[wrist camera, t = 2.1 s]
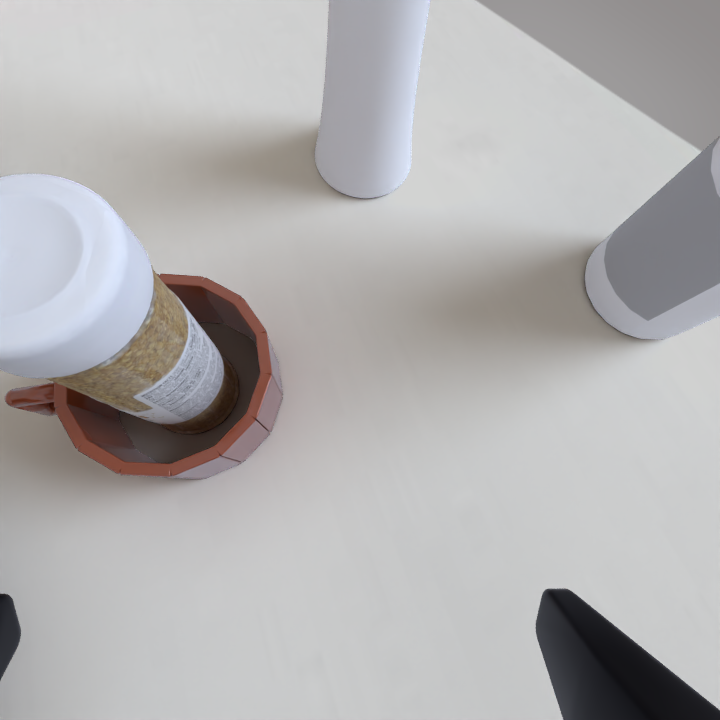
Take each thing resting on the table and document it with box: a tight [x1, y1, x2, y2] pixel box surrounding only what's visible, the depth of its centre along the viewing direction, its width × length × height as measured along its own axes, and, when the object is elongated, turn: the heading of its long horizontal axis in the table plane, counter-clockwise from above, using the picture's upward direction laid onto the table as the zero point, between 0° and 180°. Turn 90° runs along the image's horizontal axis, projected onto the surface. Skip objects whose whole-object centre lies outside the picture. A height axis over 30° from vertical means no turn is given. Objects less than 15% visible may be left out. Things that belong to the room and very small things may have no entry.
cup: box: [5, 274, 283, 479], centre depth 20 cm, size 11×9×4 cm
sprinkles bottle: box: [0, 174, 239, 434], centre depth 15 cm, size 5×5×14 cm
